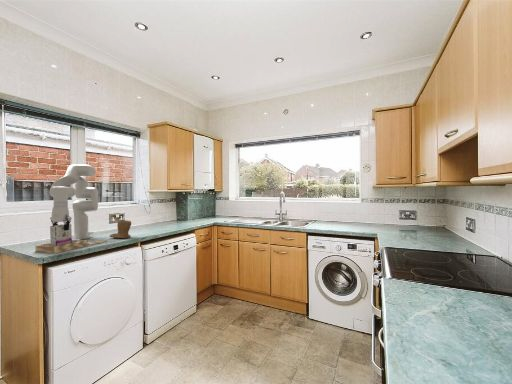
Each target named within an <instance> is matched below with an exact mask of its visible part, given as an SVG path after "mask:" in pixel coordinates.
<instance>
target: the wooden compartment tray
mask: <svg viewBox="0 0 512 384" xmlns="http://www.w3.org/2000/svg"><path fill="white" fill-rule="evenodd" d="M88 241H89V240H88V239H83V240H81V241H79V242H74V243H70V244H65V245H60V246H51V242H47V243H43V244H38V245H35V247H34V248H35V250H34V251H35V253H45V254H46V253H48V254H50V253H51V254H57V253H63V252H66V251H71V250H75V249H79V248H83V247H88V246H89V245H88V243H89V242H88Z"/></svg>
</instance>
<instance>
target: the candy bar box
mask: <svg viewBox="0 0 512 384" xmlns="http://www.w3.org/2000/svg"><path fill="white" fill-rule="evenodd" d="M49 233H50V238H49V239H50V243H51V246H60V245H65V244H70V243H72V238H73V236H72V235H73V233H72V223H70V224H69V230H65V231H64V223H63V224H58V225H55V226H53V225H50V226H49Z"/></svg>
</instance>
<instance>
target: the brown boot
mask: <svg viewBox="0 0 512 384" xmlns="http://www.w3.org/2000/svg"><path fill="white" fill-rule="evenodd" d="M116 226H117V233H112V234H109V235H108V236H109V237H110V238H114V239H126V238H130V237H131V236H132V235H130V234H129V232H130V229H131V227H132V221H131V220H127V219H126V220H125V219H119V220H118V221H117V225H116Z"/></svg>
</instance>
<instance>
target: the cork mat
mask: <svg viewBox="0 0 512 384" xmlns="http://www.w3.org/2000/svg"><path fill="white" fill-rule="evenodd" d="M106 242H108V240H104V239H103V240H101V239H100V240H96V241H92V242H88V246H94V245H99V244H101V243H102V244H103V243H106Z"/></svg>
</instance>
